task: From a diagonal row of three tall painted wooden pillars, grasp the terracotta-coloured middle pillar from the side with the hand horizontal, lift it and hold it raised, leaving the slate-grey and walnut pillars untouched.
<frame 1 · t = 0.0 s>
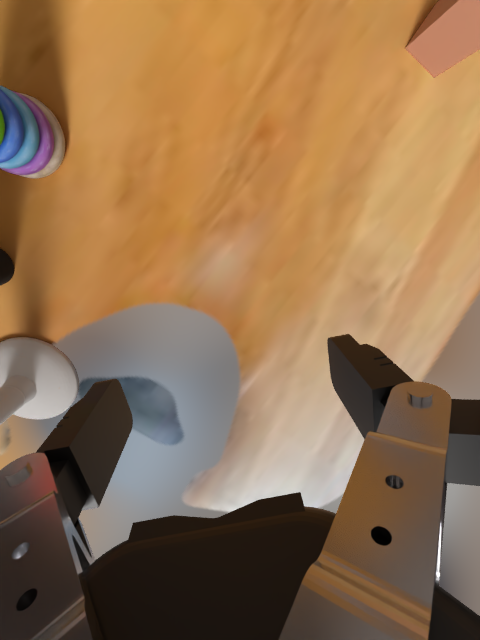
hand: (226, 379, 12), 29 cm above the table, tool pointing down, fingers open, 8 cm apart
pillar terracotta: (434, 41, 33), on the table
stacking toy: (32, 139, 34), on the table
candlestick: (32, 378, 44), on the table
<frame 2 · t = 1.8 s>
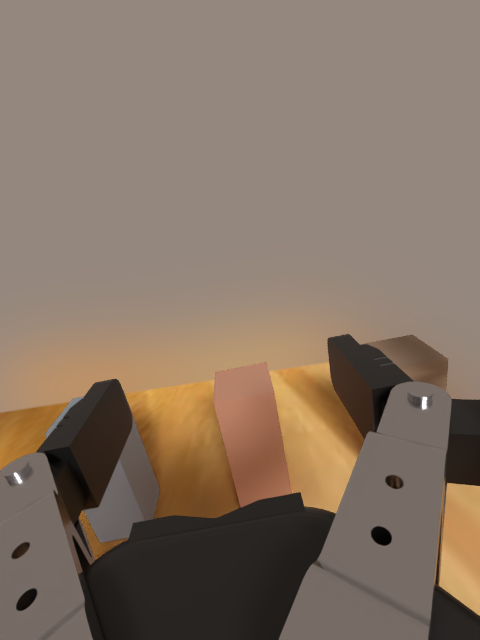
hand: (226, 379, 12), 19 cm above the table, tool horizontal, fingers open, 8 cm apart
pillar slate: (132, 514, 29), on the table
pillar terracotta: (265, 490, 29), on the table
pillar walnut: (400, 465, 29), on the table
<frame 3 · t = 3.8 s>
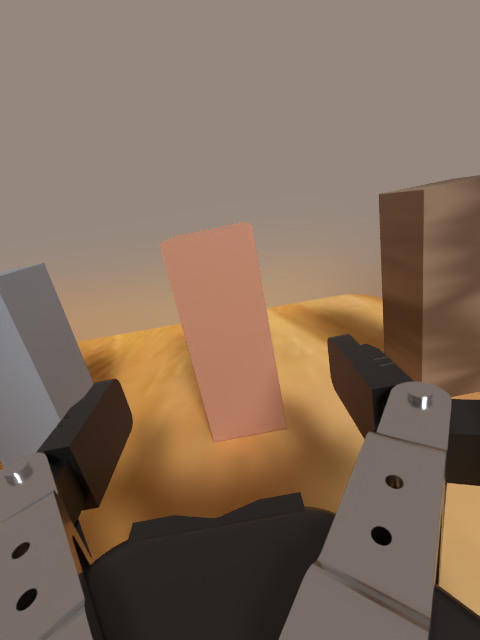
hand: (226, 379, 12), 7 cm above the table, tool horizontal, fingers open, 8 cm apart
pillar slate: (65, 447, 21), on the table
pillar terracotta: (247, 412, 21), on the table
pillar walnut: (434, 376, 21), on the table
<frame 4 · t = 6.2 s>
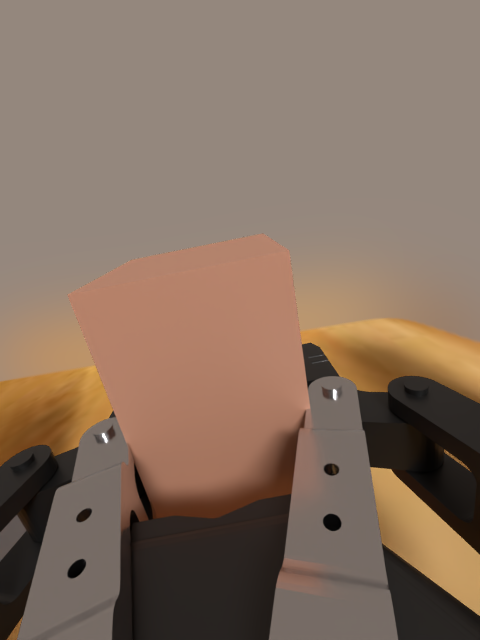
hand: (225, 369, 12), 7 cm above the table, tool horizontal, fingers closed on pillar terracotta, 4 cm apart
pillar terracotta: (262, 554, 12), on the table, touching gripper
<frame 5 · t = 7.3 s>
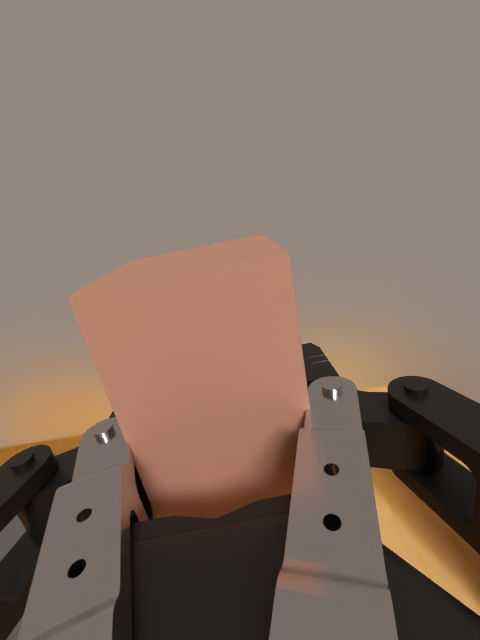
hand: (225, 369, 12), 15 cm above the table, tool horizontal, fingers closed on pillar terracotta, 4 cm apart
pillar terracotta: (262, 554, 12), point 8 cm above the table, touching gripper
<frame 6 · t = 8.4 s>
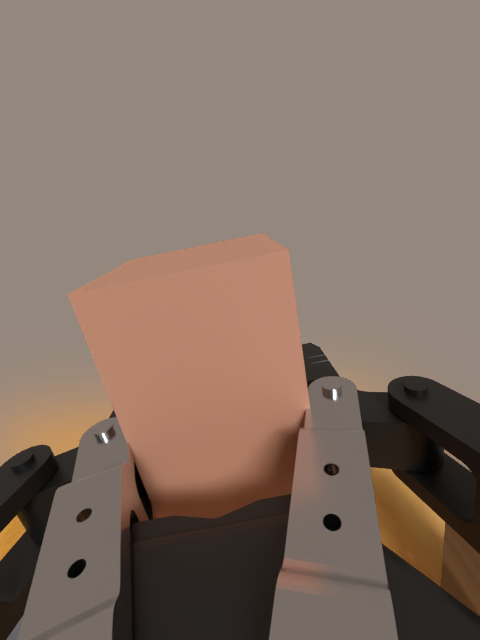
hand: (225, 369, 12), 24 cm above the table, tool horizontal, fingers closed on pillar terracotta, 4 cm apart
pillar terracotta: (262, 553, 12), point 17 cm above the table, touching gripper
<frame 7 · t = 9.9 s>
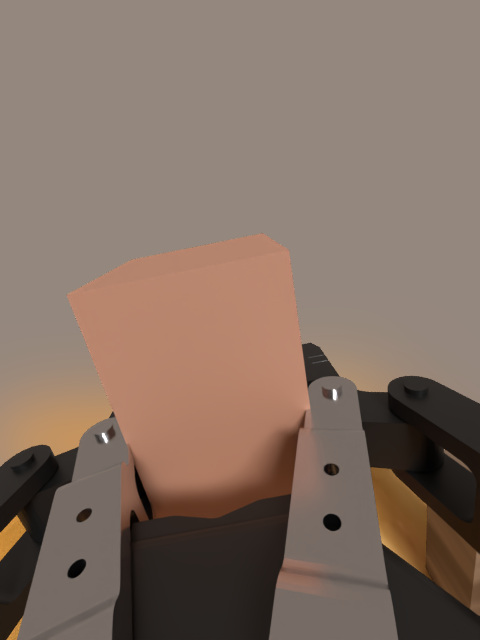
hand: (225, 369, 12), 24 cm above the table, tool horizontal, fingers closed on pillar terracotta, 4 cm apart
pillar terracotta: (262, 554, 12), point 17 cm above the table, touching gripper
pillar walnut: (474, 595, 23), on the table
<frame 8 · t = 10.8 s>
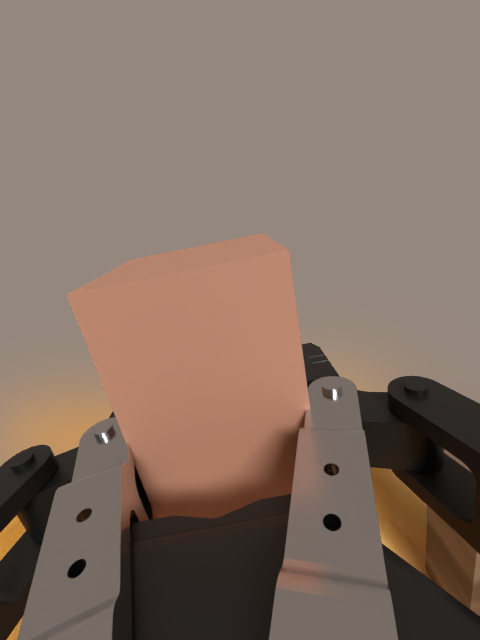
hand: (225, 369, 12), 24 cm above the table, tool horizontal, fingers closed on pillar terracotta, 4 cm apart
pillar terracotta: (262, 554, 12), point 17 cm above the table, touching gripper
pillar walnut: (474, 595, 23), on the table
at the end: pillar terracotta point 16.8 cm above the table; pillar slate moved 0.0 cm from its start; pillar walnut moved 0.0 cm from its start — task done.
